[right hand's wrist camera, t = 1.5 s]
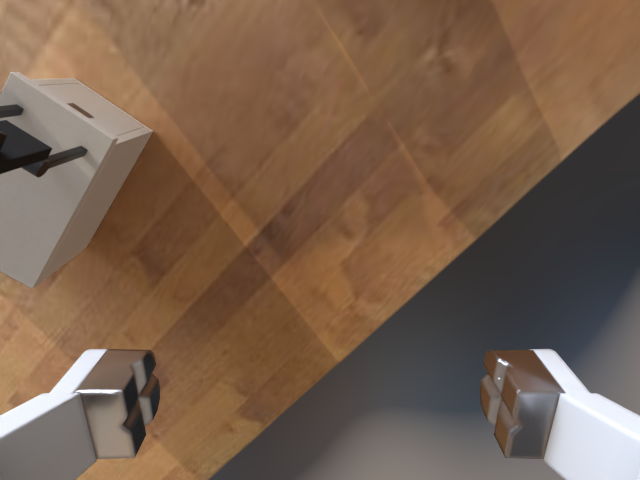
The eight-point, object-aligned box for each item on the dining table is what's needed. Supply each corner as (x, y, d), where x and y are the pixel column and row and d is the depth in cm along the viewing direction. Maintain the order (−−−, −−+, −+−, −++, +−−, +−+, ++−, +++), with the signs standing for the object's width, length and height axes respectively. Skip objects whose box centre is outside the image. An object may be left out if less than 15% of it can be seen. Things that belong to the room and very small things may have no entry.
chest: (74, 77, 47) (15, 79, 38) (153, 130, 49) (115, 144, 40) (12, 204, 52) (-53, 233, 43) (86, 248, 54) (38, 284, 45)
